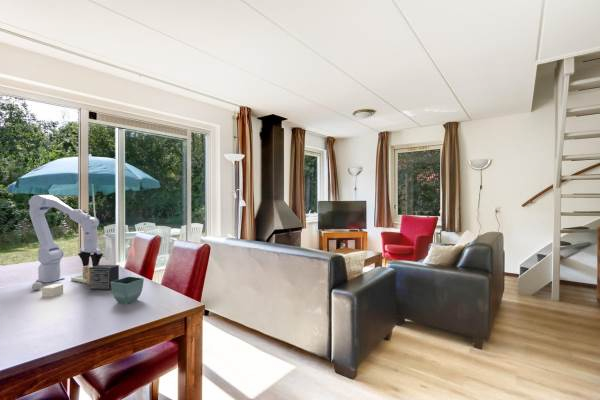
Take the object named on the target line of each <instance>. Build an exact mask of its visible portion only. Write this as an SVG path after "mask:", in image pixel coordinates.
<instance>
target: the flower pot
mask: <svg viewBox="0 0 600 400" xmlns="http://www.w3.org/2000/svg"><path fill="white" fill-rule="evenodd" d="M144 280H145V278H143V277H136V276H126V277H121V278H119V280H115V281H112V282H111V288H112V289H111V293H112V296H113V298H114V299H115V301H116V302H117V303H121V304H126V305H127V304H130V303H132V302H133V303H134V302H136V301H137V300H138V299H139V297H140V296H141V294H142V291H143V286H144V282H145V281H144Z"/></svg>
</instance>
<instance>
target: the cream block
mask: <svg viewBox="0 0 600 400" xmlns="http://www.w3.org/2000/svg"><path fill="white" fill-rule="evenodd" d="M62 294H64V284H63V283H61V284H60V283H59V284H57V283H55V284H53V283H52V284H50V285H47V286H42V288H41V295H42V297H44V298H45V297H46V298H48V297H49V298H54V297H56V296H59V295H62Z"/></svg>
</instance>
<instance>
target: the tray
mask: <svg viewBox="0 0 600 400" xmlns="http://www.w3.org/2000/svg"><path fill="white" fill-rule="evenodd" d="M70 279H71V280H70V281H71V282H75V281H77V282H76V283H80V282H82V283H83V284H86V283H87V279H83V274H79V275H76V276H71V277H70ZM82 283H81V284H82Z"/></svg>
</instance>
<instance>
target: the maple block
mask: <svg viewBox="0 0 600 400" xmlns="http://www.w3.org/2000/svg"><path fill="white" fill-rule="evenodd" d="M90 267H93V266H92V264H90V265H88V266H82V275H83V279H87V274H89V273H90V270H89V268H90Z"/></svg>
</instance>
